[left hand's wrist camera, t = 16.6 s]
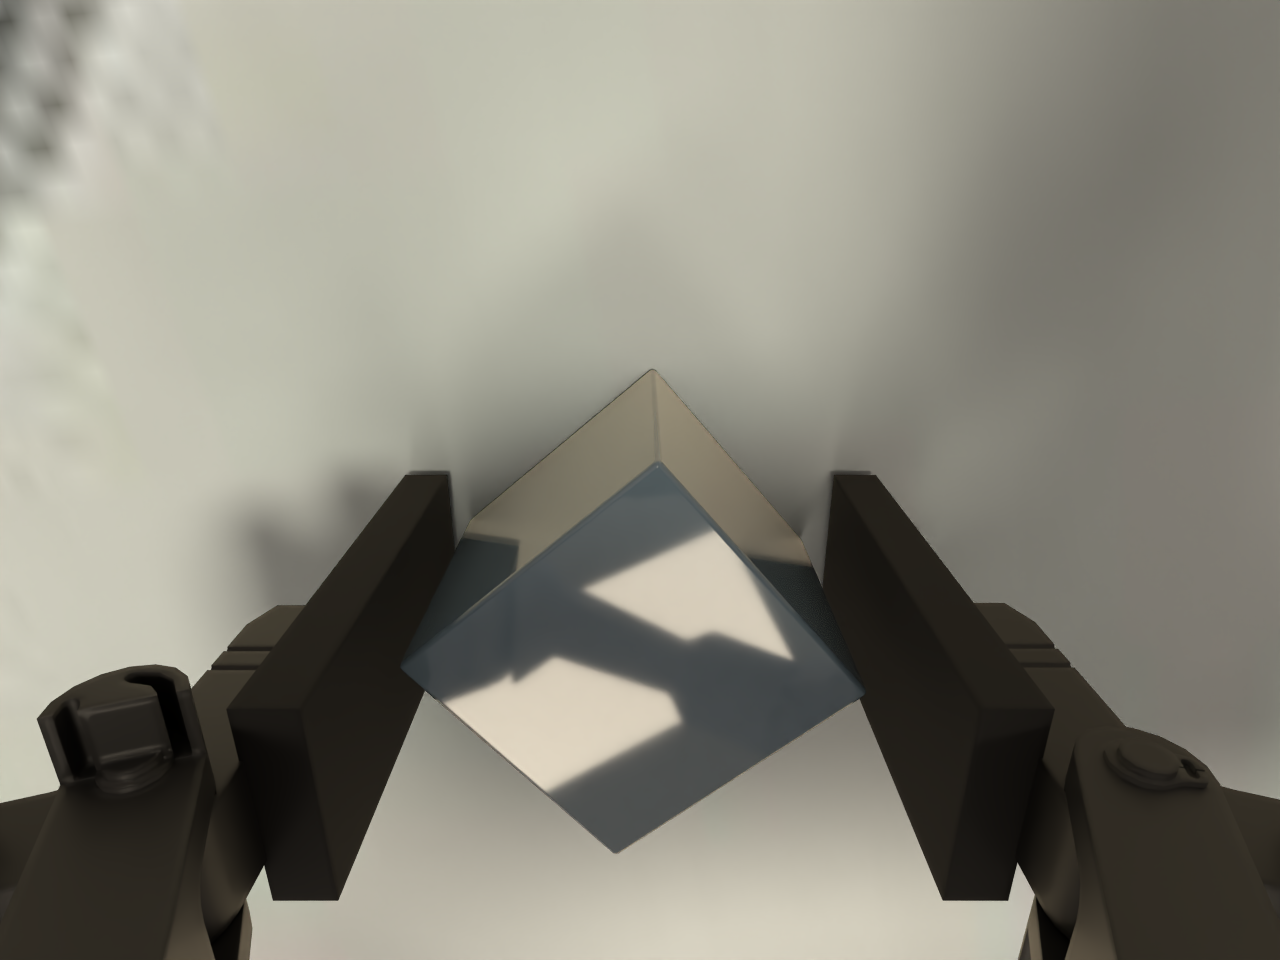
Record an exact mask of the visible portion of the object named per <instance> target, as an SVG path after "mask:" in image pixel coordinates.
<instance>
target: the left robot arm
mask: <svg viewBox="0 0 1280 960" xmlns="http://www.w3.org/2000/svg"><path fill="white" fill-rule="evenodd" d="M454 553H455V549H454V539H453V529H452V519H451V509H450V499H449V489H448V479H447V475H405V476H404V478H403V479H402V480H401V482H400V483H399V484H398V485H397V487H396V488H395V489H394V491H393V492H392V493H391V495H390V496H389V497H388V499H387V500H386V501H385V502H384V504H383V505H382V506H381V508H380V509H379V510H378V512H377V513H376V514H375V515H374V517H373V518H372V519H371V521H370V522H369V523H368V525H367V526H366V527H365V529H364V530H363V531H362V532H361V534H360V535H359V536H358V538H357V539H356V540H355V542H354V543H353V544H352V545H351V547H350V548H349V549H348V551H347V552H346V553H345V555H344V556H343V557H342V559H341V560H340V561H339V562H338V564H337V565H336V566H335V568H334V569H333V570H332V572H331V573H330V574H329V575H328V577H327V578H326V579H325V581H324V582H323V583H322V585H321V586H320V587H319V589H318V590H317V591H316V592H315V594H314V595H313V596H312V598H311V599H310V600H309V602H308V603H307V604H306V605H277V606H276V607H274V608H272V609H271V610H269V611H268V612H266V613H264V614H263V615H261V616H260V617H258V618H257V619H255V620H253V621H252V622H250V623H249V624H247V625H246V626H245V627H244V628H243V630H242V631H241V632H240V633H239V634H238V635H237V636H236V638H235V639H234V640H233V641H232V642H231V643H230V645H229V646H228V649H227V651H224V652H223V653H222V654H221V655H220V656H219V657H218V658H217V660H216V661H215V662H214V663H213V664H212V665H211V666H212V668H211V670H207V671H206V672H205V674H204V675H203V676H202V677H201V678H200V679H199V680H198V682H197V683H196V684H195V685H194V686H193V687H192V689H191V687H190V683H189V679H188V676H187V675H185V674H184V673H183V672H181V671H180V670H178V669H177V668H174V667H168V666H162V665H156V664H155V665H144V666H133V667H127V668H123V669H120V670H116V671H112V672H109V673H105V674H101V675H99V676H97V677H94V678H92V679H90V680H88V681H85V682H83V683H81V684H79V685H76V686H74V687H73V688H71V689H70V690H68V691H67V692H65V693H64V694H62V695H61V696H59V697H58V698H56V699H55V700H53V701H52V702H51V703H50V704H49V705H48V706H47V707H46V709H45V710H44V711H43V712H42V713H41V714H40V716H39V717H38V718H37V721H38V724H39V727H40V729H41V732H42V735H43V738H44V740H45V743H46V746H47V749H48V752H49V754H50V757H51V760H52V763H53V766H54V768H55V771H56V774H57V777H58V779H59V782H60V787H59V789H58V790H57V791H53V792H50V793H45V794H40V795H36V796H31V797H27V798H22V799H17V800H13V801H8V802H4V803H0V960H249V957H250V947H251V937H252V923H251V917H250V912H249V908H248V904H247V900H246V898H247V896H248V894H249V892H250V890H251V888H252V887H253V885H254V883H255V881H256V879H257V877H258V875H259V874H260V872H261V870H262V868H263V866H265V870H266V874H267V878H268V882H269V886H270V890H271V894H272V898H273V901H338V900H339V897H340V895H341V893H342V890H343V888H344V885H345V883H346V880H347V878H348V876H349V873H350V871H351V868H352V866H353V863H354V861H355V859H356V856H357V854H358V851H359V849H360V846H361V844H362V842H363V839H364V837H365V834H366V832H367V830H368V827H369V825H370V822H371V820H372V817H373V815H374V813H375V810H376V808H377V805H378V803H379V800H380V798H381V796H382V793H383V791H384V788H385V786H386V783H387V781H388V779H389V776H390V774H391V771H392V769H393V766H394V764H395V762H396V759H397V757H398V754H399V752H400V750H401V747H402V745H403V742H404V740H405V737H406V735H407V733H408V730H409V728H410V725H411V723H412V720H413V718H414V716H415V713H416V711H417V708H418V706H419V703H420V701H421V699H422V696H423V694H424V691H425V690H424V689H423V688H422V687H421V686H419V685H418V684H417V683H416V682H415V681H414V680H412V679H411V678H410V677H409V676H408V675H407V674H406V673H404V672H403V671H402V670H401V668H400V664H401V662H402V660H403V658H404V656H405V654H406V652H407V649H408V647H409V645H410V643H411V641H412V639H413V637H414V635H415V633H416V631H417V629H418V627H419V625H420V623H421V621H422V619H423V617H424V615H425V612H426V610H427V608H428V606H429V604H430V602H431V600H432V598H433V596H434V594H435V592H436V590H437V588H438V586H439V584H440V582H441V580H442V577H443V575H444V573H445V571H446V569H447V567H448V565H449V563H450V561H451V559H452V557H453V555H454ZM823 591H824V593H825V596H826V598H827V600H828V603H829V605H830V607H831V610H832V612H833V614H834V616H835V619H836V621H837V623H838V626H839V628H840V630H841V633H842V635H843V637H844V640H845V642H846V644H847V646H848V649H849V651H850V653H851V656H852V658H853V660H854V663H855V665H856V667H857V670H858V672H859V674H860V677H861V679H862V681H863V683H864V686H865V688H866V694H865V695H864V696H863V697H861V698H860V701H861V703H862V706H863V708H864V711H865V713H866V716H867V718H868V720H869V723H870V725H871V728H872V730H873V732H874V735H875V737H876V740H877V742H878V745H879V747H880V749H881V752H882V754H883V757H884V759H885V762H886V764H887V766H888V769H889V771H890V774H891V776H892V779H893V781H894V783H895V786H896V788H897V791H898V793H899V796H900V798H901V800H902V803H903V805H904V808H905V810H906V812H907V815H908V817H909V820H910V822H911V825H912V827H913V829H914V832H915V834H916V837H917V839H918V842H919V844H920V846H921V849H922V851H923V854H924V856H925V859H926V861H927V863H928V866H929V868H930V871H931V873H932V876H933V878H934V880H935V883H936V885H937V888H938V890H939V893H940V895H941V897H942V900H943V901H1008V899H1009V894H1010V890H1011V886H1012V882H1013V878H1014V874H1015V870H1016V866H1017V862H1018V864H1019V866H1020V868H1021V870H1022V871H1023V873H1024V875H1025V877H1026V879H1027V881H1028V882H1029V884H1030V886H1031V888H1032V890H1033V892H1034V894H1035V896H1034V900H1033V904H1032V908H1031V912H1030V915H1029V919H1028V923H1027V927H1026V931H1025V934H1024V938H1023V942H1022V946H1021V950H1020V953H1019V957H1018V960H1280V800H1279V799H1274V798H1269V797H1265V796H1260V795H1255V794H1251V793H1246V792H1242V791H1237V790H1233V789H1229V788H1225V787H1222V786H1220V784H1219V782H1218V781H1217V779H1216V778H1215V777H1214V775H1213V774H1212V773H1211V771H1210V770H1209V768H1208V767H1207V766H1206V765H1205V764H1203V763H1202V762H1201V761H1200V760H1198V759H1197V758H1196V757H1195V756H1193V755H1192V754H1191V753H1189V752H1188V751H1187V750H1186V749H1184V748H1182V747H1180V746H1178V745H1176V744H1174V743H1172V742H1170V741H1168V740H1166V739H1164V738H1162V737H1160V736H1157V735H1154V734H1151V733H1147V732H1144V731H1141V730H1138V729H1134V728H1129V727H1126V726H1125V725H1124V724H1123V723H1122V722H1121V721H1120V719H1119V718H1118V717H1117V716H1116V715H1115V714H1114V712H1113V711H1112V710H1111V709H1110V708H1109V707H1108V706H1107V704H1106V703H1105V702H1104V701H1103V700H1102V699H1101V698H1100V696H1099V695H1098V694H1097V693H1096V692H1095V691H1094V689H1093V688H1092V687H1091V686H1090V685H1089V684H1088V683H1087V681H1086V680H1085V679H1084V678H1083V677H1082V676H1081V675H1080V673H1079V672H1078V671H1077V670H1076V669H1075V668H1071V666H1070V662H1069V661H1068V660H1067V658H1066V657H1065V656H1064V655H1063V654H1062V653H1061V652H1060V650H1059V649H1055V648H1054V643H1053V642H1052V641H1051V640H1050V639H1049V638H1048V637H1047V635H1046V634H1045V633H1044V632H1043V631H1042V630H1041V629H1040V627H1039V626H1038V625H1037V624H1036V623H1035V622H1034V621H1032V620H1031V619H1029V618H1027V617H1026V616H1024V615H1023V614H1021V613H1019V612H1018V611H1016V610H1015V609H1013V608H1011V607H1010V606H1008V605H1007V604H1005V603H973V601H972V600H971V599H970V597H969V596H968V595H967V594H966V592H965V591H964V590H963V588H962V587H961V586H960V584H959V583H958V582H957V581H956V579H955V578H954V577H953V575H952V574H951V573H950V571H949V570H948V569H947V567H946V566H945V565H944V564H943V562H942V561H941V560H940V558H939V557H938V556H937V554H936V553H935V552H934V551H933V549H932V548H931V547H930V545H929V544H928V543H927V541H926V540H925V539H924V537H923V536H922V535H921V534H920V532H919V531H918V530H917V528H916V527H915V526H914V524H913V523H912V522H911V521H910V519H909V518H908V517H907V515H906V514H905V513H904V511H903V510H902V509H901V507H900V506H899V505H898V504H897V502H896V501H895V500H894V498H893V497H892V496H891V494H890V493H889V492H888V491H887V489H886V488H885V487H884V485H883V484H882V483H881V481H880V480H879V479H878V478H877V476H876V475H834V481H833V490H832V500H831V510H830V520H829V530H828V540H827V550H826V560H825V570H824V580H823Z"/></svg>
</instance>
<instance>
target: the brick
mask: <svg viewBox="0 0 1280 960" xmlns="http://www.w3.org/2000/svg"><path fill="white" fill-rule="evenodd" d="M400 668H401V670H402V671H403V672H404V673H406V674H407V675H408V676H409V677H410V678H411V679H412V680H414V681H415V682H416V683H417V684H418V685H419V686H421V687H422V688H423V689H424V690H425V691H426V692H428V693H429V694H430V695H431V696H432V697H433V698H434V699H436V700H437V701H438V702H439V703H440V704H441V705H443V706H444V707H445V708H446V709H447V710H448V711H450V712H451V713H452V714H453V715H454V716H455V717H456V718H458V719H459V720H460V721H461V722H462V723H463V724H465V725H466V726H467V727H468V728H469V729H470V730H471V731H473V732H474V733H475V734H476V735H477V736H478V737H480V738H481V739H482V740H483V741H484V742H485V743H487V744H488V745H489V746H490V747H491V748H492V749H493V750H495V751H496V752H497V753H498V754H499V755H500V756H502V757H503V758H504V759H505V760H506V761H507V762H508V763H510V764H511V765H512V766H513V767H514V768H515V769H517V770H518V771H519V772H520V773H521V774H522V775H524V776H525V777H526V778H527V779H528V780H529V781H530V782H532V783H533V784H534V785H535V786H536V787H537V788H539V789H540V790H541V791H542V792H543V793H544V794H545V795H547V796H548V797H549V798H550V799H551V800H552V801H554V802H555V803H556V804H557V805H558V806H559V807H561V808H562V809H563V810H564V811H565V812H566V813H567V814H569V815H570V816H571V817H572V818H573V819H574V820H576V821H577V822H578V823H579V824H580V825H581V826H583V827H584V828H585V829H586V830H587V831H588V832H589V833H591V834H592V835H593V836H594V837H595V838H596V839H598V840H599V841H600V842H601V843H602V844H603V845H604V846H606V847H607V848H608V849H609V850H610V851H611V852H613V853H614V854H618V853H620V852H621V851H623V850H624V849H626V848H628V847H629V846H631V845H632V844H634V843H635V842H637V841H639V840H640V839H642V838H643V837H645V836H646V835H648V834H649V833H651V832H653V831H654V830H656V829H657V828H659V827H660V826H662V825H663V824H665V823H667V822H668V821H670V820H671V819H673V818H674V817H676V816H677V815H679V814H681V813H682V812H684V811H685V810H687V809H688V808H690V807H691V806H693V805H695V804H696V803H698V802H699V801H701V800H702V799H704V798H706V797H707V796H709V795H710V794H712V793H713V792H715V791H716V790H718V789H720V788H721V787H723V786H724V785H726V784H727V783H729V782H730V781H732V780H734V779H735V778H737V777H738V776H740V775H741V774H743V773H744V772H746V771H748V770H749V769H751V768H752V767H754V766H755V765H757V764H758V763H760V762H762V761H763V760H765V759H766V758H768V757H769V756H771V755H772V754H774V753H776V752H777V751H779V750H780V749H782V748H783V747H785V746H787V745H788V744H790V743H791V742H793V741H794V740H796V739H797V738H799V737H801V736H802V735H804V734H805V733H807V732H808V731H810V730H811V729H813V728H815V727H816V726H818V725H819V724H821V723H822V722H824V721H825V720H827V719H829V718H830V717H832V716H833V715H835V714H836V713H838V712H839V711H841V710H843V709H844V708H846V707H847V706H849V705H850V704H852V703H854V702H855V701H857V700H858V699H860V698H861V697H863V696H864V695H865V694H866V688H865V686H864V683H863V681H862V679H861V677H860V674H859V672H858V670H857V667H856V665H855V663H854V660H853V658H852V656H851V653H850V651H849V649H848V646H847V644H846V642H845V640H844V637H843V635H842V633H841V630H840V628H839V626H838V623H837V621H836V619H835V616H834V614H833V612H832V610H831V607H830V605H829V603H828V600H827V598H826V596H825V593H824V591H823V589H822V586H821V584H820V582H819V580H818V577H817V575H816V573H815V570H814V568H813V566H812V563H811V561H810V559H809V556H808V554H807V552H806V550H805V547H804V545H803V543H802V540H801V539H800V538H799V537H798V535H797V534H796V533H795V532H794V531H793V530H792V528H791V527H790V526H789V525H788V524H787V523H786V521H785V520H784V519H783V518H782V517H781V516H780V515H779V513H778V512H777V511H776V510H775V509H774V508H773V506H772V505H771V504H770V503H769V502H768V501H767V499H766V498H765V497H764V496H763V495H762V494H761V492H760V491H759V490H758V489H757V488H756V487H755V485H754V484H753V483H752V482H751V481H750V480H749V479H748V477H747V476H746V475H745V474H744V473H743V472H742V470H741V469H740V468H739V467H738V466H737V465H736V463H735V462H734V461H733V460H732V459H731V458H730V456H729V455H728V454H727V453H726V452H725V451H724V450H723V448H722V447H721V446H720V445H719V444H718V443H717V441H716V440H715V439H714V438H713V437H712V436H711V434H710V433H709V432H708V431H707V430H706V429H705V427H704V426H703V425H702V424H701V423H700V422H699V420H698V419H697V418H696V417H695V416H694V415H693V414H692V412H691V411H690V410H689V409H688V408H687V407H686V405H685V404H684V403H683V402H682V401H681V400H680V398H679V397H678V396H677V395H676V394H675V393H674V391H673V390H672V389H671V388H670V387H669V386H668V385H667V383H666V382H665V381H664V380H663V379H662V378H661V376H660V375H659V374H658V373H657V372H656V371H655V370H650V371H649V372H648V373H646V374H645V375H644V376H643V377H642V378H640V379H639V380H638V381H637V382H636V383H634V384H633V385H632V386H631V387H630V388H628V389H627V390H626V391H625V392H624V393H622V394H621V395H620V396H619V397H618V398H616V399H615V400H614V401H613V402H612V403H610V404H609V405H608V406H607V407H606V408H604V409H603V410H602V411H601V412H600V413H598V414H597V415H596V416H595V417H594V418H592V419H591V420H590V421H589V422H588V423H586V424H585V425H584V426H583V427H582V428H580V429H579V430H578V431H577V432H576V433H574V434H573V435H572V436H571V437H570V438H568V439H567V440H566V441H565V442H564V443H562V444H561V445H560V446H559V447H558V448H556V449H555V450H554V451H553V452H552V453H550V454H549V455H548V456H547V457H546V458H544V459H543V460H542V461H541V462H540V463H538V464H537V465H536V466H535V467H534V468H532V469H531V470H530V471H529V472H527V473H526V474H525V475H524V476H523V477H521V478H520V479H519V480H518V481H517V482H515V483H514V484H513V485H512V486H511V487H509V488H508V489H507V490H506V491H505V492H503V493H502V494H501V495H500V496H499V497H497V498H496V499H495V500H494V501H493V502H491V503H490V504H489V505H488V506H487V507H485V508H484V509H483V510H482V511H481V512H479V513H478V514H477V515H476V516H475V517H473V518H472V519H471V520H470V522H469V524H468V526H467V528H466V530H465V532H464V534H463V536H462V538H461V540H460V543H459V545H458V547H457V549H456V551H455V553H454V555H453V557H452V559H451V561H450V563H449V565H448V567H447V569H446V571H445V573H444V575H443V577H442V580H441V582H440V584H439V586H438V588H437V590H436V592H435V594H434V596H433V598H432V600H431V602H430V604H429V606H428V608H427V610H426V612H425V615H424V617H423V619H422V621H421V623H420V625H419V627H418V629H417V631H416V633H415V635H414V637H413V639H412V641H411V643H410V645H409V647H408V649H407V652H406V654H405V656H404V658H403V660H402V662H401V664H400Z"/></svg>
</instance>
